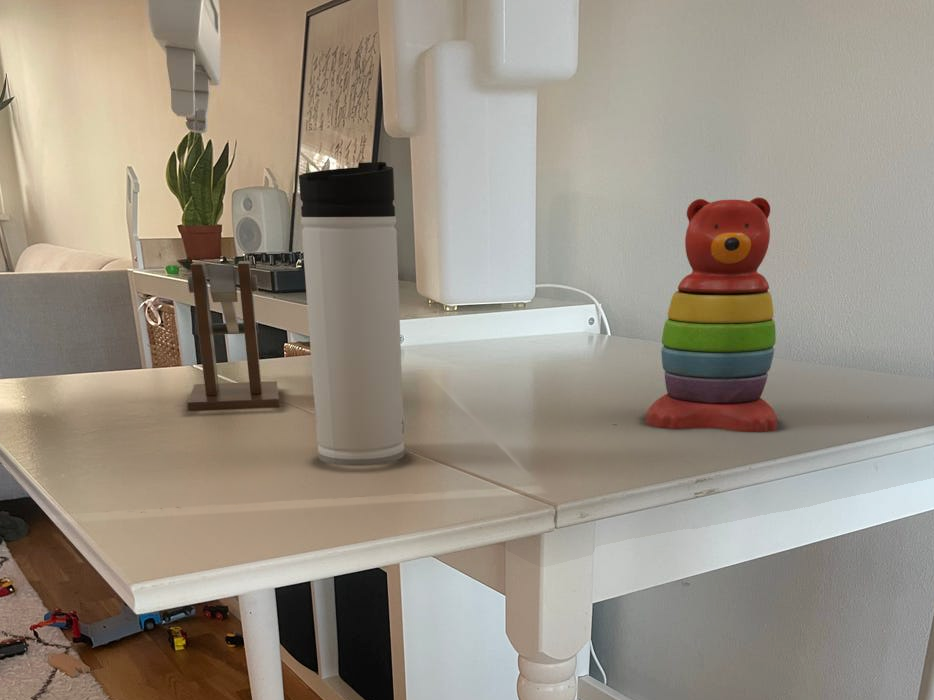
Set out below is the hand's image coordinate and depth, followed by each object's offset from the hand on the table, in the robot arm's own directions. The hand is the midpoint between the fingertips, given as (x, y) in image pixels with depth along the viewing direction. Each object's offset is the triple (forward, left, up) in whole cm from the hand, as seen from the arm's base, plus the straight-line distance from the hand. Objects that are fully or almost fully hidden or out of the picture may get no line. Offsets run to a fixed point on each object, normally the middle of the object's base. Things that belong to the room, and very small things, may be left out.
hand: (190, 124), depth 86 cm
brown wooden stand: (+3, -4, -24) cm, 25 cm away
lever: (+1, +1, -17) cm, 17 cm away
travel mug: (+18, -26, -24) cm, 40 cm away
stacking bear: (+46, -10, -24) cm, 53 cm away
